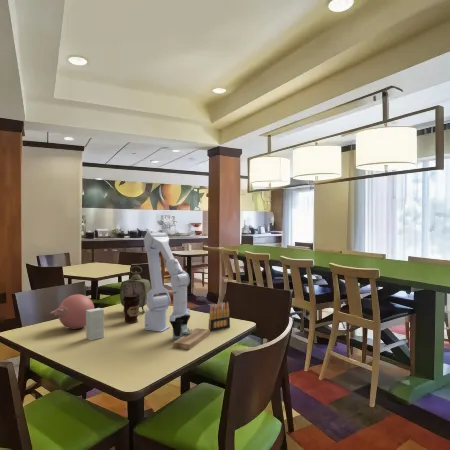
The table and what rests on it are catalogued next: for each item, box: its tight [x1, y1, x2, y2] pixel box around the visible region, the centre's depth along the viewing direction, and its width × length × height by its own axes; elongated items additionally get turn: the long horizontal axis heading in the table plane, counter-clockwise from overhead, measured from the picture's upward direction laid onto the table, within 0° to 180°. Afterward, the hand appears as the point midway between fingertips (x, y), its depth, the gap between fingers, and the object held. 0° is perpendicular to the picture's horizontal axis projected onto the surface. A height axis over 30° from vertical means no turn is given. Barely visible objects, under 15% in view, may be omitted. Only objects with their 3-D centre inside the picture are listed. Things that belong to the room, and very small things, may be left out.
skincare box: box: [85, 307, 105, 341], centre depth 148 cm, size 6×4×12 cm
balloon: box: [49, 293, 95, 330], centre depth 160 cm, size 15×20×15 cm
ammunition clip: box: [208, 301, 231, 332], centre depth 162 cm, size 11×2×12 cm, turn 124°
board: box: [172, 327, 211, 350], centre depth 146 cm, size 7×20×2 cm, turn 160°
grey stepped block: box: [172, 324, 193, 340], centre depth 149 cm, size 7×4×5 cm, turn 70°
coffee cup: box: [123, 294, 140, 324], centre depth 173 cm, size 9×8×13 cm
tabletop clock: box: [119, 265, 152, 315], centre depth 192 cm, size 14×9×25 cm, turn 80°
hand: (179, 333), depth 149 cm, fingers closed on grey stepped block, 4 cm apart
